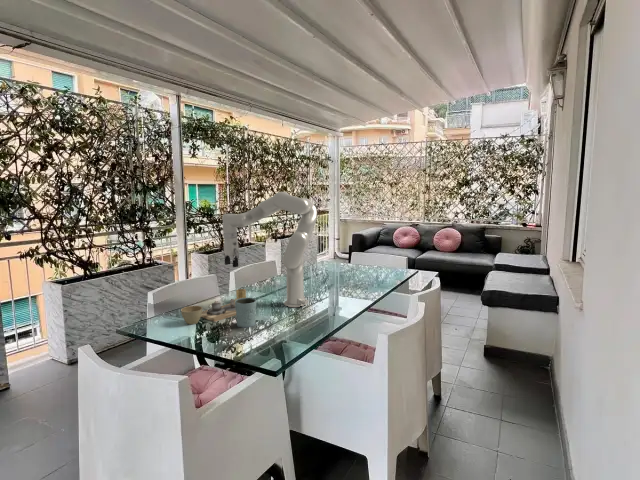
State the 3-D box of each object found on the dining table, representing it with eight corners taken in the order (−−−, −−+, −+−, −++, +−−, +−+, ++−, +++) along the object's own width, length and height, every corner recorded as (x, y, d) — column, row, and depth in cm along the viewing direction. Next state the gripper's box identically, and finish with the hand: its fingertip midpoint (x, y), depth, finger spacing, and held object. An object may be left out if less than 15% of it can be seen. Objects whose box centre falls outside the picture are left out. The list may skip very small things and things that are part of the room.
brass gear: (253, 301, 221) (253, 289, 220) (239, 305, 214) (239, 293, 213) (242, 298, 228) (242, 287, 227) (229, 302, 220) (228, 290, 219)
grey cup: (238, 320, 189) (237, 297, 187) (259, 320, 188) (258, 297, 187) (233, 328, 179) (232, 303, 177) (254, 328, 178) (254, 303, 177)
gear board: (253, 309, 207) (253, 296, 206) (214, 321, 188) (213, 307, 187) (236, 304, 216) (236, 291, 215) (197, 315, 197) (196, 302, 197)
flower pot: (183, 327, 180) (182, 313, 179) (180, 321, 189) (179, 307, 188) (205, 324, 185) (204, 309, 184) (201, 318, 194) (200, 304, 193)
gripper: (243, 236, 209) (244, 267, 212) (229, 233, 223) (230, 262, 225) (231, 237, 205) (232, 269, 207) (217, 235, 218) (218, 264, 220)
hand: (231, 265), depth 216 cm, fingers open, 9 cm apart
